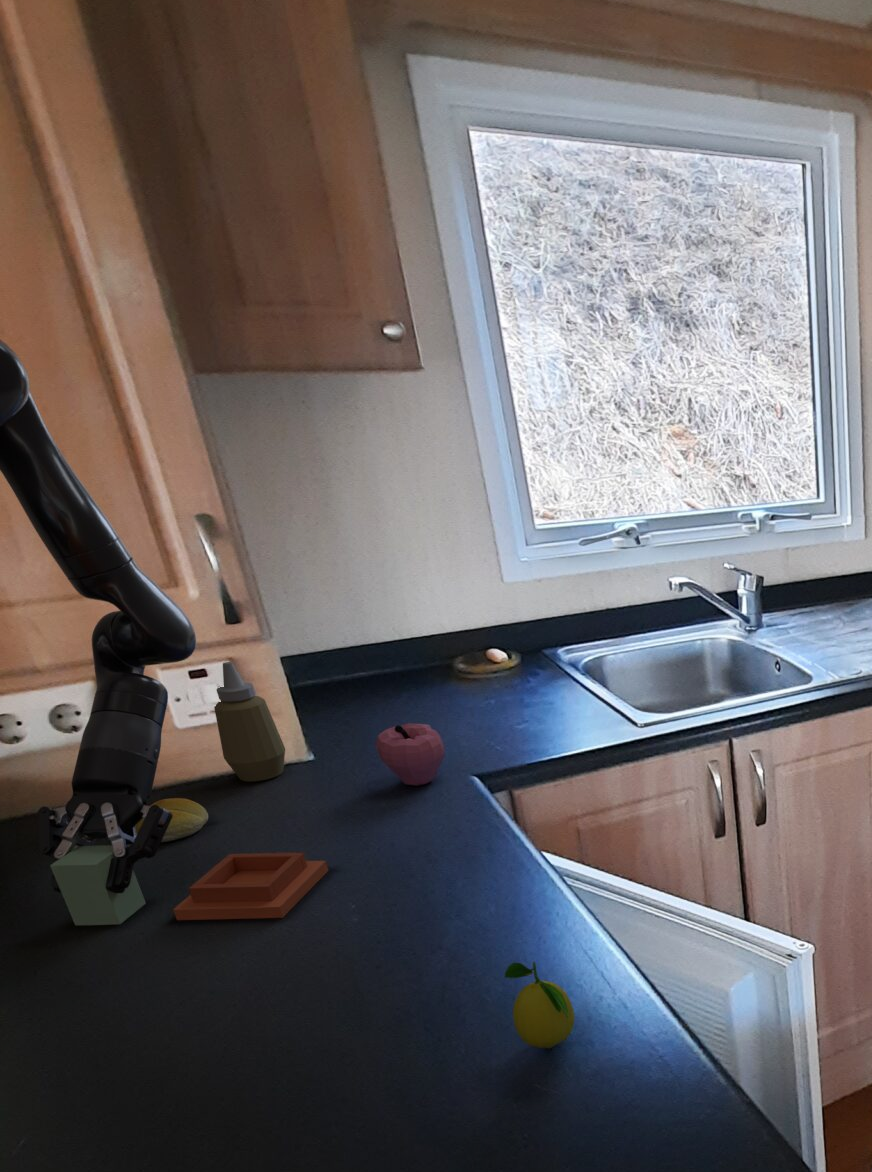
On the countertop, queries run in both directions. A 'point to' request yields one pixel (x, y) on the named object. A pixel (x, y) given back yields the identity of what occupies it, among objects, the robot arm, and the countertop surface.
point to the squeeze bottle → (247, 730)
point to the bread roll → (181, 818)
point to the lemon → (541, 1010)
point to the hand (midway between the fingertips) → (89, 891)
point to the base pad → (251, 887)
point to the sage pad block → (94, 887)
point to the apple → (411, 752)
